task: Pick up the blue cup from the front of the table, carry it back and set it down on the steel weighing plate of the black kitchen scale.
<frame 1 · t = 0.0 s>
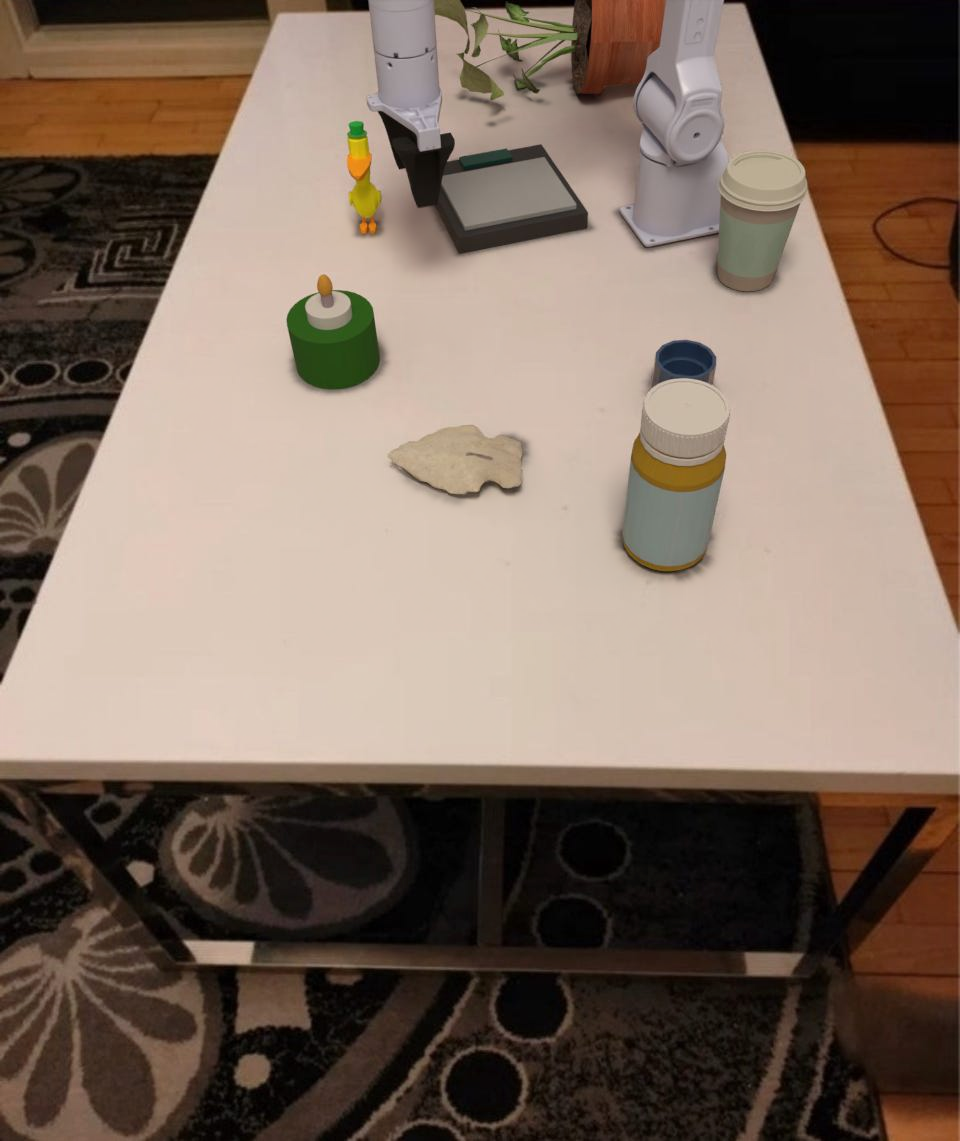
hand: (417, 185, 102), 10 cm above the table, tool pointing down, fingers open, 7 cm apart
potted plant: (548, 94, 135), on the table
scale: (502, 204, 117), on the table
candle: (338, 363, 100), on the table
toy figure: (368, 231, 115), on the table
blue cup: (680, 392, 96), on the table
coffee cup: (744, 277, 107), on the table
bottle: (663, 545, 84), on the table
decorative stone: (455, 469, 90), on the table
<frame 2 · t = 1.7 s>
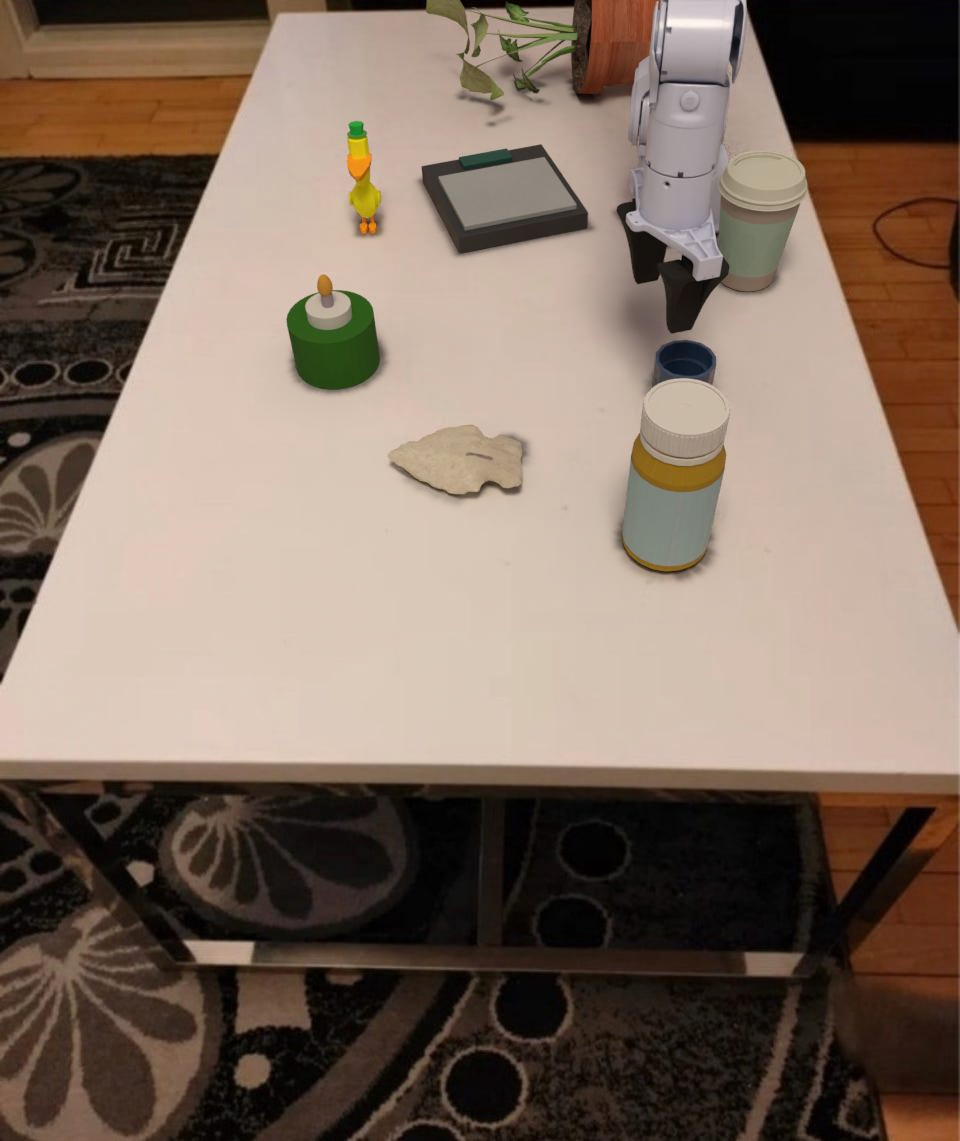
hand: (662, 304, 90), 9 cm above the table, tool pointing down, fingers open, 7 cm apart
nothing on the table moved.
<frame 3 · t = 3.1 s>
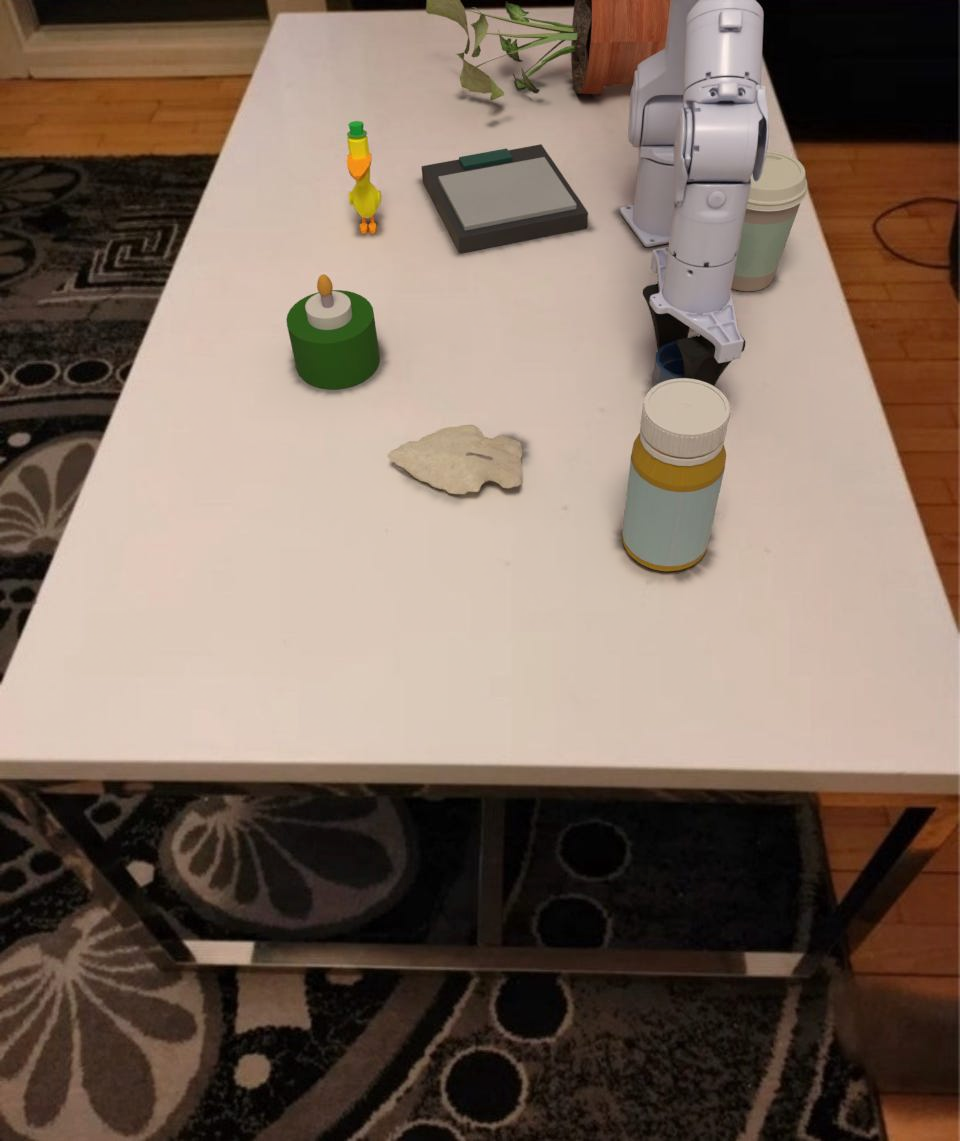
hand: (682, 376, 94), 2 cm above the table, tool pointing down, fingers closed on blue cup, 5 cm apart
blue cup: (680, 392, 96), on the table, touching gripper
everything else where it was.
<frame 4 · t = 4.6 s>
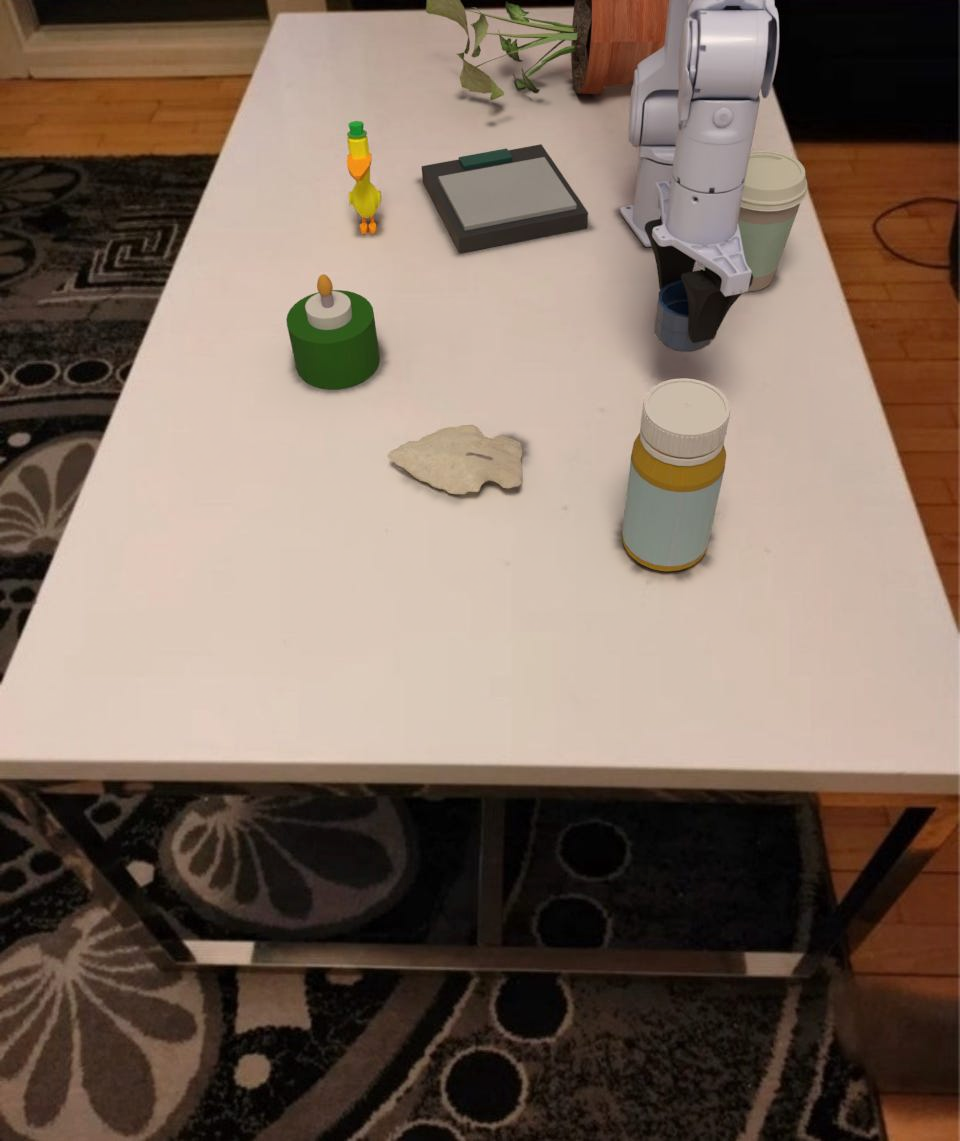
hand: (686, 317, 90), 8 cm above the table, tool pointing down, fingers closed on blue cup, 5 cm apart
blue cup: (684, 335, 91), point 6 cm above the table, touching gripper
everything else where it was.
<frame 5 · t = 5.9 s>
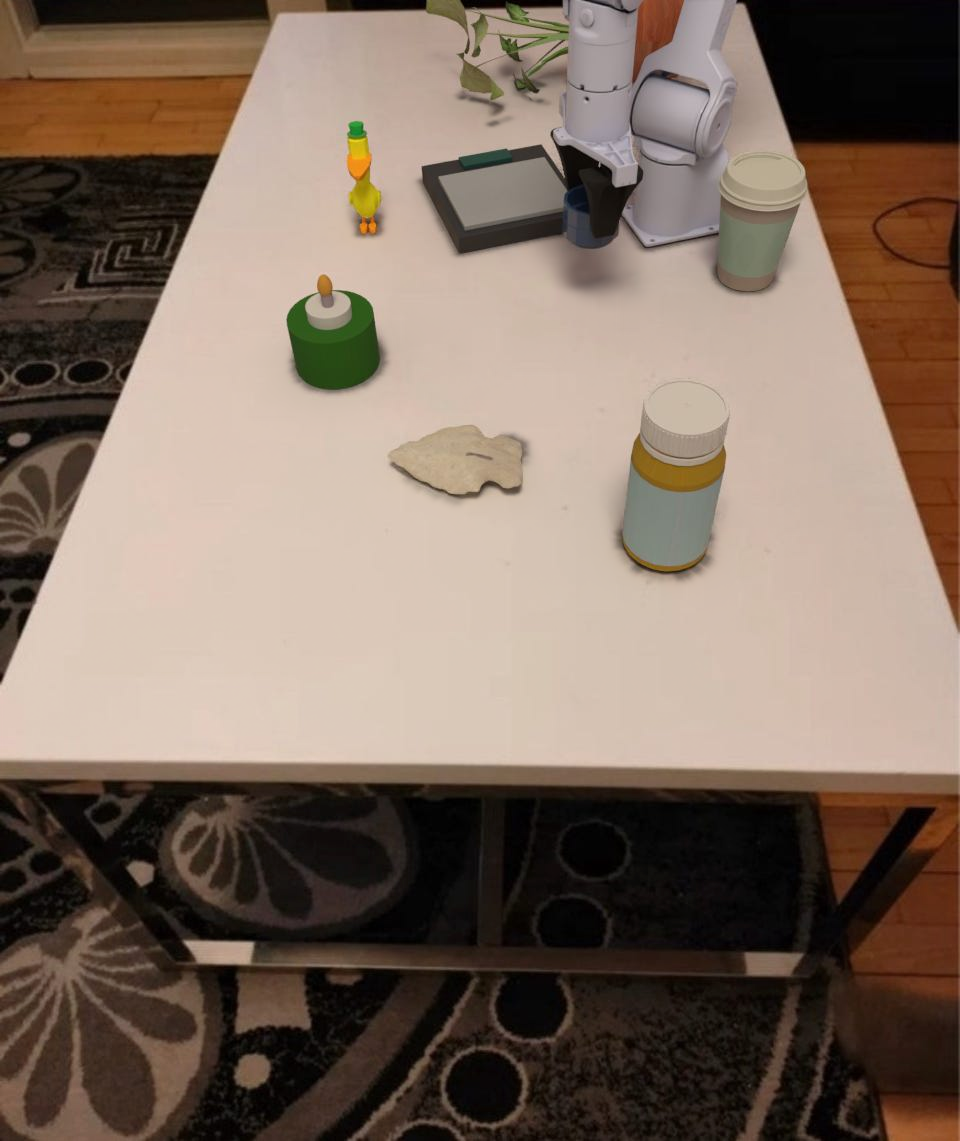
hand: (591, 217, 99), 9 cm above the table, tool pointing down, fingers closed on blue cup, 5 cm apart
blue cup: (590, 235, 100), point 7 cm above the table, touching gripper
everything else where it was.
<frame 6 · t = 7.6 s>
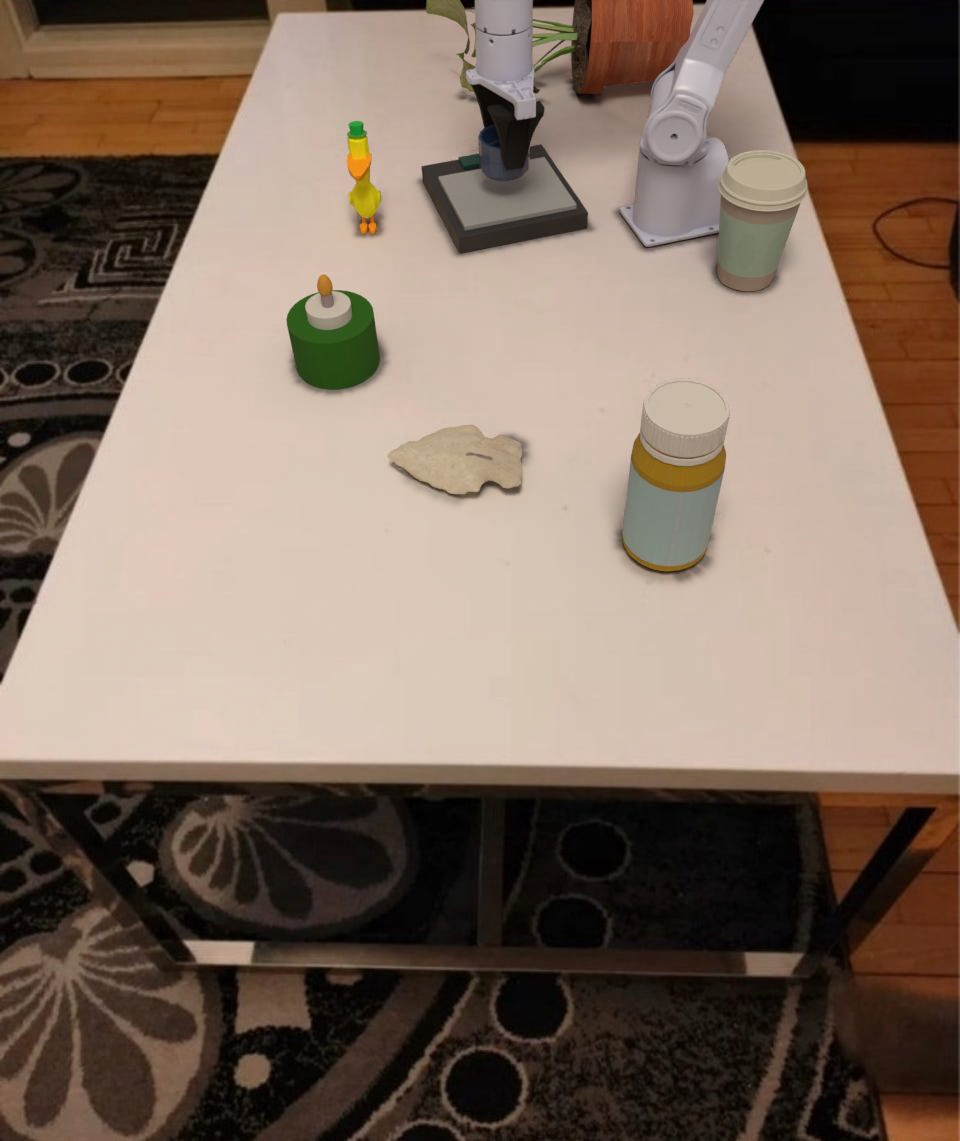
hand: (505, 153, 111), 7 cm above the table, tool pointing down, fingers closed on blue cup, 5 cm apart
blue cup: (504, 170, 113), point 5 cm above the table, touching gripper
everything else where it was.
when the fingers open (4 cm above the table, at t = 8.9 s): blue cup stays where it is, resting on scale.
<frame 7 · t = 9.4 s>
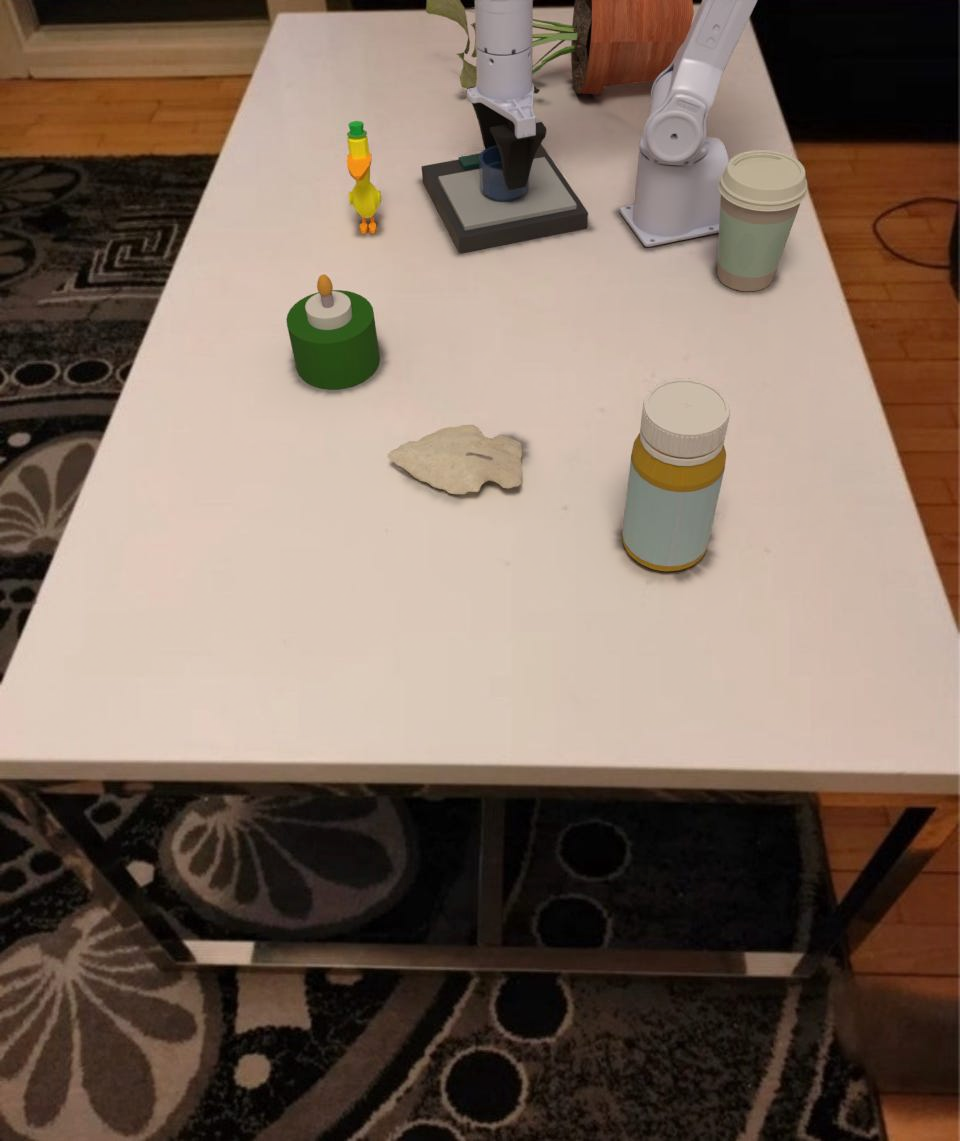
hand: (505, 169, 113), 5 cm above the table, tool pointing down, fingers open, 7 cm apart
blue cup: (504, 190, 114), point 3 cm above the table, touching scale
everything else where it was.
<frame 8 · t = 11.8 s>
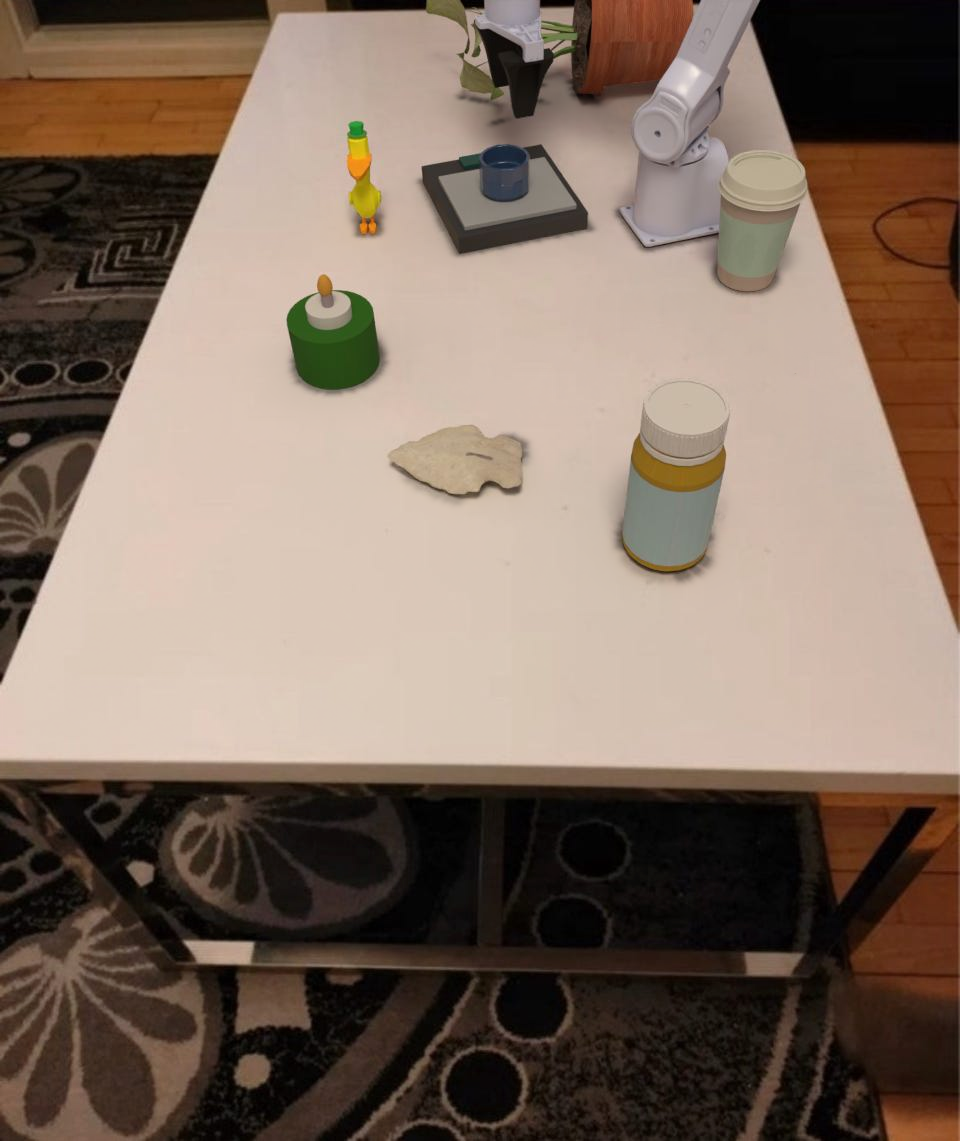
hand: (513, 100, 114), 9 cm above the table, tool pointing down, fingers open, 7 cm apart
nothing on the table moved.
at the end: blue cup inside the target area on the scale (0.1 cm from its centre), point 2.6 cm above the scale's base; blue cup tilted 0°; the gripper is holding nothing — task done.
